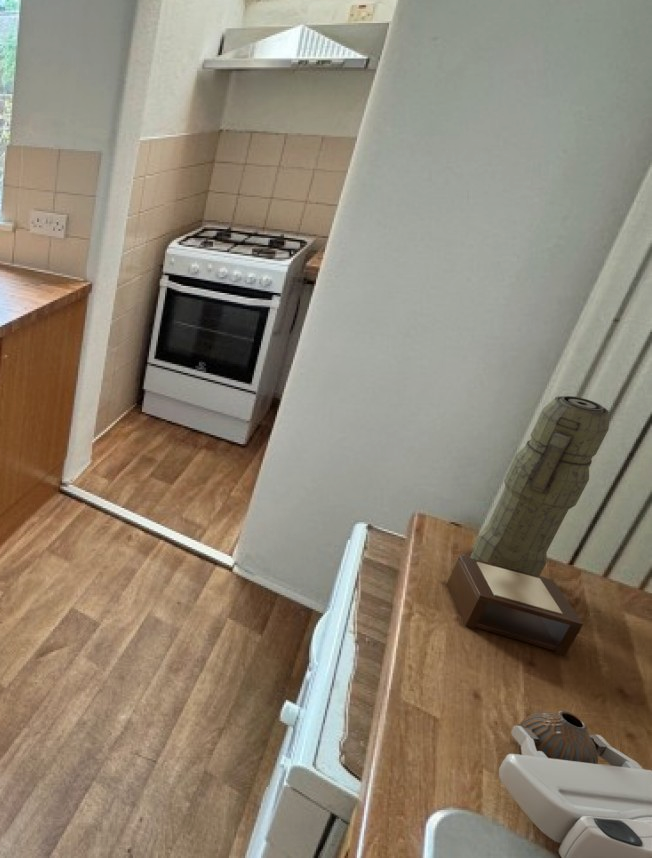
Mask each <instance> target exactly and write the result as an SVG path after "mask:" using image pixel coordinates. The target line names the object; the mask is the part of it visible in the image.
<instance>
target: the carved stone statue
mask: <svg viewBox="0 0 652 858" xmlns="http://www.w3.org/2000/svg"><path fill="white" fill-rule="evenodd" d="M609 429H610V411H609V410H608V409H607V408H606V407H604V406H603V405H602V404H600V403H598V402H595V401H593V400H590V399H587V398H583V397H579V396H574V395H564V396H563V395H562V396H561V395H560V396H559V395H558V396H556V397H555V398H553V399H552V400H551V401H549V402H548V403H547V404H546V405H545V406H544V407H543V408H542V409H541V412H540V413H539V416H538V418H537V420H536V423H535V425H534V427H533V429H532V431H531V433H530V437H531V438H529V440H527V441H526V444H525V446H523V448H521V449H520V450H519V451H517V453H515V456H514V458H513V460H512V462H511V465H510V467H509V469H508V471H507V473H506V476H505V478H504V481H503V482H504V486H505V487H504V489H503V491H502V493H501V495H500V497H499V500H498V502H497V504H496V506H495V508H494V510H493V513H492V515H491V517H490V519H489V521H488V524H487V525H486V526H485V527H484V528H483V529H482V530H481V531H480V532H478V535H477V537H476V539H475V542H474V543H473V546H472V553H471V554H470V555H469V558H473V559H476V560H480V561H484V562H488V563H491V564H495V565H499V566H503V567H507V568H510V569H514V570H518V571H522V572H526V573H529V574H533V575H537V576H541V574H542V572H543V570H544V569H545V566H546V565H547V562H548V561H547V560H548V558H547V555H548V553H547V552H548V550H549V548H550V547H551V545H552V543H553V541H554V539H555V538H556V537H555V536H556V535H557V533H558V530H559V529H560V527H561V525H562V523H563V521H564V520H565V517H566V515H567V513H568V512H569V510H570V509H573V508H574V507H575V506H576V505H577V503H578V501H579V500H580V498H581V496H582V495H583V492H584V491H585V488H586V486H587V485H588V482H589V480H590V466H592V458H593V457H595V456H596V454H597V453H598V451H599V449H600V447H601V446H602V443H603V441H604V439H605V437H606V435H607V433H608V431H609Z"/></svg>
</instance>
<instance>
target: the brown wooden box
mask: <svg viewBox="0 0 652 858" xmlns="http://www.w3.org/2000/svg"><path fill="white" fill-rule="evenodd" d="M446 588H447V590H448V592H449V593H450V597H451V598H452V600H453V603H454V605H455V608H456V609H457V612H458V614H459V616H460V618H461V620H462V622H463V624H464V627H466V628H469V629H473V630H475V629H476V628H478V629H480V630H484V631H488V632H491V633H494V634H497V635H501V636H503V637H508V638H512V639H514V640H517V641H520V642H524V643H527V644H531V645H534V646H538V647H541V648H545V649H548V650H550V651H552V652H553V653H554V654H555V655H559V656H562V657H566V655H567V653H568V651H570V648H571V647H572V645H573V643H574V641H575V639H576V638H577V636H578V635H579V633H580V631H581V629H582V628H583V625H584V623H583V622H582V620H581V619H580V617H579V616H578V614H577V613H576V612H575V610H574V609H573V607H572V605H571V604H570V603H569V601H568V600H567V599H566V597H565V595H564V594H563V592H562V591H561V590H560V588H559V586H558V585H557V583H556V582H555V580H553V579H552V578H548V577H545V576H542V575H540V576H537V575H533V574H529V573H526V572H522V571H518V570H514V569H510V568H507V567H503V566H499V565H495V564H491V563H488V562H484V561H480V560H476V559H473V558H470V556H465V555H462V554H460V555H459V556H458V558H457V560H456V562H455V564H454V567H453V569H452V571H451V573H450V576H449V577H448V580H447V582H446Z"/></svg>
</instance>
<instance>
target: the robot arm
mask: <svg viewBox="0 0 652 858" xmlns="http://www.w3.org/2000/svg"><path fill="white" fill-rule="evenodd" d="M510 734H511V736H512V737H513V738H514V741H515V740H516V741H517V742H518V743H519V744H520V746H521V752H522V755H520V754H519V753H508V754H507V755H506V756H505V757H504V759H503V761H502V762H501V764H500V766H499V769H498V778H499V780H500V782H501V784H502V786H503V787H504V788H505V789H506V791H507V792H508V794H509V796H511V798H512V799H513V800H514V801H515V803H516V804H517V805H518V806H519V807H520V809H521V810H522V811H523V813H524V814H525V815H526V817H528V818H529V820H530V821H531V822H532V823H533V825H535V827H537V829H539V830H540V831H541V832H542V833H543V834H544V836H546V837H548V838H549V839H551V840H552V841H554V842H556V843H557V844H560V845H559V847H558V851H557V852H558V854H559V856H560V857H561V858H652V770H651V769H644V768H643V767H642V766H641V764H639V763H638V762H637V761H636V760H634V759H632V758H631V757H629V756H628V755H626V754H625V753H623V752H622V751H620V750H618V749H617V748H614V747H613V746H611V744H610V743H609V742H608V741H607V740H606V739H605V738H604V737H603V736H602V735H600V734H594V733H588V734H589V735H590V737H591V739H592V741H593V743H594V744H595V747H596V749H597V753H598V757H600V758H601V759H603V760H604V761H605V762H607V763H608V764H601V763H598V764H593V763H585V762H576V761H568V760H560V759H551V758H548V757H547V756H546V755H545V754H544V753H543V752H542V751H537V750H536V747H535V746H536V743H538V741H539V740H540V739H539V738H538V737H537V735H536V734H535V733H533V732H532V730H531V728H529V727H523V726H519V725H513V728H512V729H511V730H510ZM516 741H515V742H516Z"/></svg>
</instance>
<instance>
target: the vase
mask: <svg viewBox="0 0 652 858" xmlns="http://www.w3.org/2000/svg"><path fill="white" fill-rule="evenodd" d="M518 726H523V727H529V728H531V730H532V732H533V733H535V734H536V735H537V737H538V738H539V739H540V740H539V741H538V743H536V746H535V747H536V750H537V751H542V752H543V753H544V754H545V755H546V756H547V757H548V758H551V759H560V760H568V761H576V762H585V763H593V764H599V756H598V753H597V749H596V747H595V744H594V743H593V741H592V739H591V737H590V735H589V734H590V733H589V731H588V726H587V724H586V723H585V721H584V720H582V718H581V717H579V716H578V715H576V714H574V713H572V712H570V711H567V710H560V711H559V710H558V711H555V712H547V711H543V712H535V713H532V714H529V715H528V716H526V717H525V718H523V719H522V720H520V722H519V724H518ZM514 741H515V746H516V749H517V751H518V754H519V755H522V752H521V746H520V744H519V743H518V742H517V741H516V740H515V739H514Z"/></svg>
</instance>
